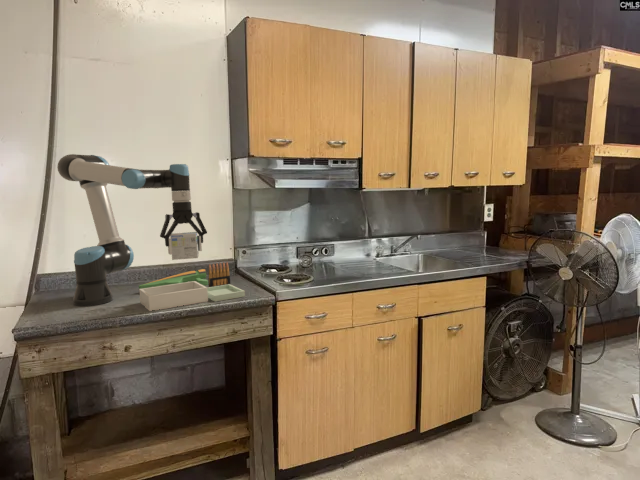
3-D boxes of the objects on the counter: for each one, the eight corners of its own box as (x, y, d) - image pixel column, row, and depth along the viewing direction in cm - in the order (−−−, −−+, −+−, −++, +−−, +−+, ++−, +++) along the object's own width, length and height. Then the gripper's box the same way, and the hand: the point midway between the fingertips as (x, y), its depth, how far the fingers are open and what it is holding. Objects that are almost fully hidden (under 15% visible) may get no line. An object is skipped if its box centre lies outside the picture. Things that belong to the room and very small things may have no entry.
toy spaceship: (142, 296, 203) (141, 280, 202) (136, 291, 211) (134, 276, 210) (209, 285, 222) (208, 270, 221) (200, 281, 230) (200, 267, 229)
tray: (214, 301, 190) (214, 295, 189) (200, 293, 204) (200, 288, 203) (245, 296, 198) (244, 290, 197) (229, 289, 212) (229, 284, 211)
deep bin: (149, 311, 177) (148, 296, 177) (140, 302, 191) (139, 289, 190) (208, 301, 191) (207, 287, 190) (195, 293, 204) (194, 281, 203)
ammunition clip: (229, 285, 220) (228, 261, 219) (230, 285, 219) (229, 261, 217) (208, 288, 214) (207, 263, 213) (209, 289, 213) (208, 264, 211)
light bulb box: (199, 256, 195) (197, 231, 194) (198, 258, 188) (196, 233, 187) (173, 257, 193) (171, 232, 191) (171, 260, 186) (169, 234, 185)
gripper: (153, 203, 178) (158, 256, 181) (212, 200, 191) (215, 250, 194) (149, 202, 184) (153, 254, 187) (206, 199, 197) (210, 248, 200)
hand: (185, 252), depth 190 cm, fingers closed on light bulb box, 12 cm apart
